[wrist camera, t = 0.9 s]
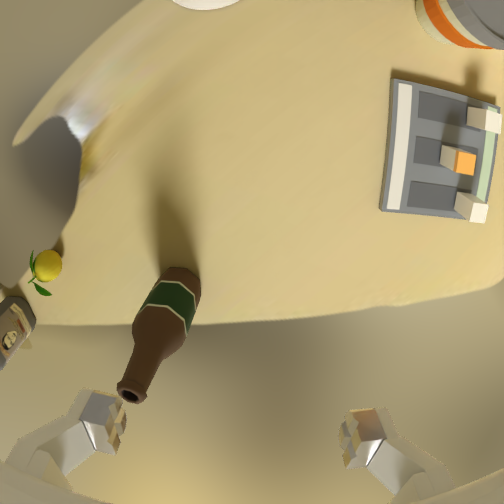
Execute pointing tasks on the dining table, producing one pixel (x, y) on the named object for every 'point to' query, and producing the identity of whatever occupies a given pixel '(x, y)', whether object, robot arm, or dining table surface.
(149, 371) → the beer bottle
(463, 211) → the block
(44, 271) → the lemon
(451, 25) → the reusable coffee cup
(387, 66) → the dining table surface
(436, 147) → the panel
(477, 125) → the block
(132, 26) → the dining table surface
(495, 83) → the dining table surface
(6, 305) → the liquor
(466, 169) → the block
